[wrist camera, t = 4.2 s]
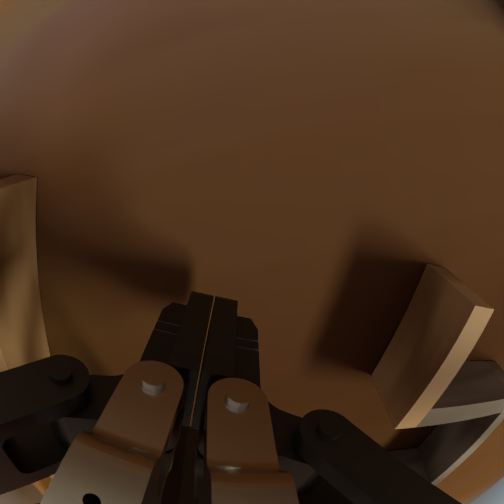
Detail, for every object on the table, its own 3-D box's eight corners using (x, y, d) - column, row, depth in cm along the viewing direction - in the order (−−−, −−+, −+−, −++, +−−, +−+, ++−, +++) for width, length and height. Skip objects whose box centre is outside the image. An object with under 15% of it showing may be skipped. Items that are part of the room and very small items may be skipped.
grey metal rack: (17, 174, 9) (-41, 192, 6) (531, 294, 12) (566, 323, 9) (88, 490, 20) (80, 515, 16) (337, 521, 22) (342, 545, 19)
